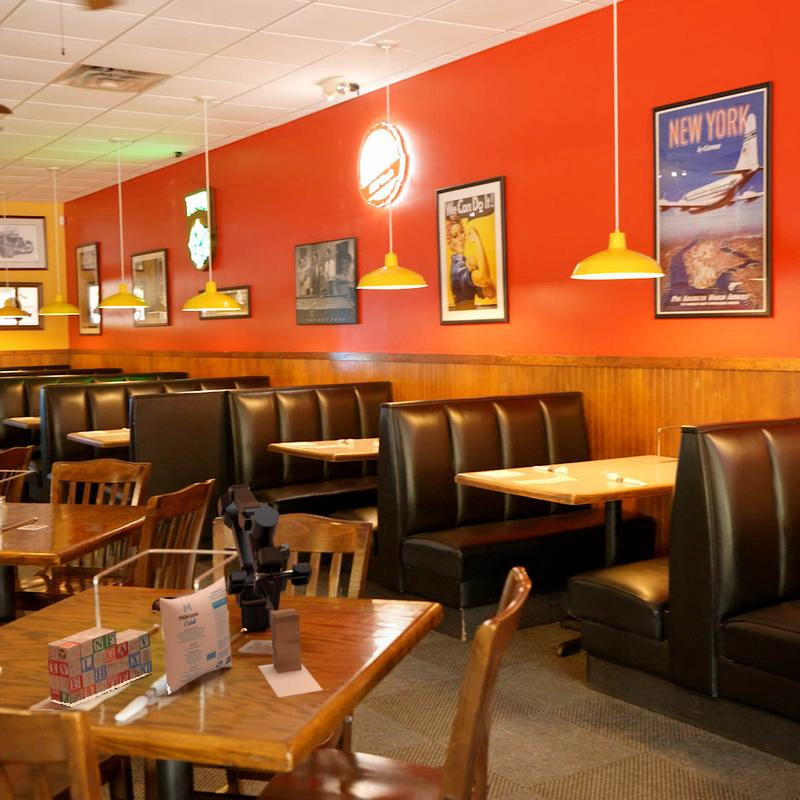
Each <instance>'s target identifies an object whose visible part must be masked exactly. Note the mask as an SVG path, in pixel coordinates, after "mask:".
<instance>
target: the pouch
mask: <svg viewBox="0 0 800 800" xmlns="http://www.w3.org/2000/svg"><path fill="white" fill-rule="evenodd" d="M206 587H207V588H204V589H202V590H199V591H197V592H196V593H194V594H191V595H188V596H183V597H179V598H176V599H163V598H164V597H160V598H158V599H159V600H160V609H161V615H160V616H161V622H162V623H161V625H162V630H163V637H164V649H165V651H164V652H165V673H166V674H165V676H166V677H165V678H166V680H165V681H166V685H167V684H168V686H169V687H170V691H171V692H174V693H175V692H177V691H178V690H179V689H181V688H182V687H183V686H184V685H186V684H188V683H191V682H192V681H194V680H196V679H198V678H199V677H201V676H202V675H204V674H206V673H210V672H214V671H216V670H219V669H222V668H226V669H228V668H232V667H233V658H232V649H231V648H232V647H231V639H230V632H229V623H228V622H229V621H228V599H227V582H226V577H225V576H222V577H221V578H218V580H217V581H215V582H214V583H212V584H211V585H209V586H206Z"/></svg>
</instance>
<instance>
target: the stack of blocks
mask: <svg viewBox="0 0 800 800" xmlns="http://www.w3.org/2000/svg"><path fill="white" fill-rule="evenodd" d="M46 646H47V656H48V659H47V665H48V674H49V684H50V699H51V700H56V701H59V702H64V703H70V704H72V703H75V702H77V701H79V700H82V699H85V698H86V697H89V696H92V695H94V694H97V693H99V692H102V691H105V690H106V689H109V688H111V687H112V686H116V685H118V684H120V683H123V682H124V681H127V680H130V679H133V678H136V677H139V676H141V675H143V674H146V673H150V672H152V673H153V667H152V666H153V663H152V662H153V661H152V647H151V639H150V632H149V631H145V630H137V629H133V628H131V629H130V628H128V629H126V630H125V629H124V630H122V631H120V632H116V630H114V629H109V628H104V627H98V626H94V627H91V628H88V629H85V630H83V631H80V632H78V633H77V632H76V633H75V634H72V635H70V636H67V637H64V638H61V639H58V640H55V641H52V642H49V643H48V644H47V645H46ZM51 700H50V701H51Z"/></svg>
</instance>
